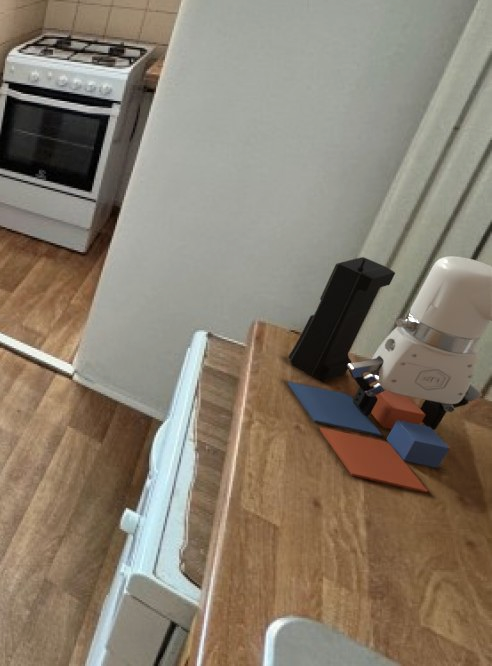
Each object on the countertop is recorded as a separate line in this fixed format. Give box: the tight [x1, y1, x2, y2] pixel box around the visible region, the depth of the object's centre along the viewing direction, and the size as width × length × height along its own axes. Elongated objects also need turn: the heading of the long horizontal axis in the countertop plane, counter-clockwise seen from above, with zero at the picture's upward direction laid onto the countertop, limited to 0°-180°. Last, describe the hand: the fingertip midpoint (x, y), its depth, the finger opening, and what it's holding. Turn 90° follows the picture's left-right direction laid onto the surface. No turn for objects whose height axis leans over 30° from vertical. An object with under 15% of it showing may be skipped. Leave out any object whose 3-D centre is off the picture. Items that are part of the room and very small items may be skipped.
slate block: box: [386, 420, 450, 469], centre depth 94 cm, size 4×4×4 cm
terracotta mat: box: [319, 427, 429, 494], centre depth 93 cm, size 9×9×1 cm
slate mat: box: [287, 381, 383, 437], centre depth 103 cm, size 9×9×1 cm
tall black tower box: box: [288, 256, 396, 382], centre depth 107 cm, size 8×6×25 cm
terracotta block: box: [370, 390, 425, 430], centre depth 100 cm, size 4×4×4 cm
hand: (392, 415), depth 100 cm, fingers open, 8 cm apart
